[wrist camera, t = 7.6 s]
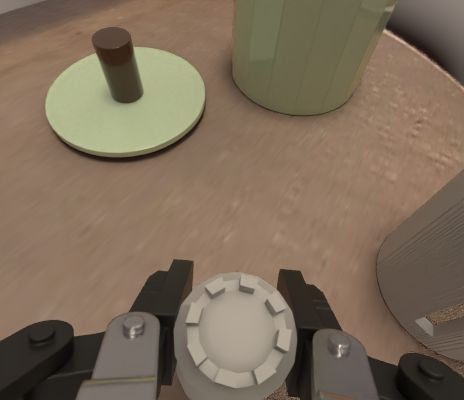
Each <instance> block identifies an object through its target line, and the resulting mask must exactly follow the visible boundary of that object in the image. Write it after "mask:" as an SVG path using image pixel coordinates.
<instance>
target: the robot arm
mask: <svg viewBox="0 0 464 400" xmlns="http://www.w3.org/2000/svg"><path fill="white" fill-rule="evenodd" d="M193 265H194V263H193V261H188V260H177V259H174V260H173V262H172V265H171V267H170V269H169V271H157V272H156V273H154V274H153V275H151V276H150V277H149V278H148V280H147V281H146V283H145V286H143V288H142V290H141V293H139V295H138V297H137V299H136V300H135V302H134V304H133V305H132V307H131V309H130V311H129V312H128V313H124V314H122V315H119V316H117V317H116V318H114V319H113V320H112V321H111V322H110V323H109V324H108V326H107V328H106V331H105V332H101V333H97V334H90V335H83V336H75V337H74V331H73V327H72V326H71V325H70V324H69V323H67V322H64V321H60V320H48V321H42V322H38V323H34V324H32V325H29V326H27V327H25V328H23V329H21V330H20V331H18V332H16V333H14V334H12V335H11V336H9V337H7V338H5V339H3V340H2V341H0V400H157V398H158V396H159V393H160V389H161V386H162V385H170V386H171V384H172V380H173V376H174V373H175V369H176V365H177V359H176V357H175V351H174V327H175V322H176V319H177V316H178V313H179V310H180V307H181V304H182V303H183V302H184V300H185V299H186V298H187V297H188V296H189V294H190V293H191V292H192V281H193ZM277 290H278V291H279V292H280V294H281V295H282V297H283V299H284V300H285V302H286V303H287V305H288V306H289V308H290V309H291V311H292V314H293V318H294V322H295V326H296V331H297V347H296V354H295V362H294V365H293V366H292V368H291V370H290V372H289V373H288V375H287V377H286V379H285V382H286V387H287V393H288V396H290V397H300V400H464V378H463V377H461V376H460V375H459V374H457V373H456V372H455V371H453V370H452V369H451V368H449V367H448V366H446V365H445V364H443V363H442V362H440V361H438V360H436V359H434V358H432V357H429V356H426V355H423V354H418V353H407V354H404V355H403V356H401V358H400V361H399V365H398V366H396V365H393V364H389V363H386V362H383V361H380V360H377V359H374V358H371V357H369V356H367V354H366V351H365V348H364V346H363V345H362V344H361V343H360V341H358V340H357V339H356V338H355V337H353V336H352V335H350V334H348V333H346V332H343V331H342V329H341V327H340V325H339V323H338V321H337V319H336V317H335V315H334V313H333V311H332V310H331V308H330V306H329V304H328V303H327V300H326V298H325V296H324V294H323V292H321V291H320V290H319V289H318V288H317V287H315V286H314V285H309V284H306V283H305V281H304V278H303V276H302V274H301V272H300V271H296V270H286V269H280V271H279V276H278V283H277Z"/></svg>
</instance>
